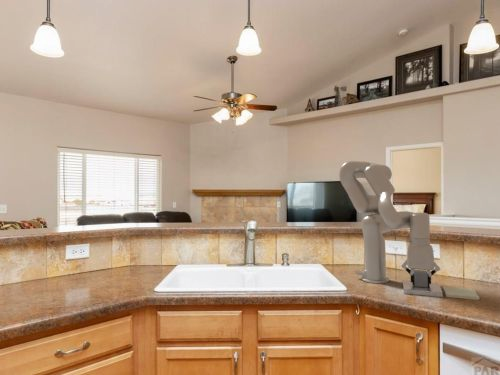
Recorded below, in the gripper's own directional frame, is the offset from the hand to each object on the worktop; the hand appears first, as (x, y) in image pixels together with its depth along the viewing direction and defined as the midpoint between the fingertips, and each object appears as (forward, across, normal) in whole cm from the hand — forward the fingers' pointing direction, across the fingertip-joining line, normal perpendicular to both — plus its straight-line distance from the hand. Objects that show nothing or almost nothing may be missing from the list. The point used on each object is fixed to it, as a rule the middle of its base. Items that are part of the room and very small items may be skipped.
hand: (420, 284), depth 143 cm
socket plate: (+3, 0, 0) cm, 3 cm away
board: (+3, +14, 0) cm, 14 cm away
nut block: (+3, 0, 0) cm, 3 cm away
